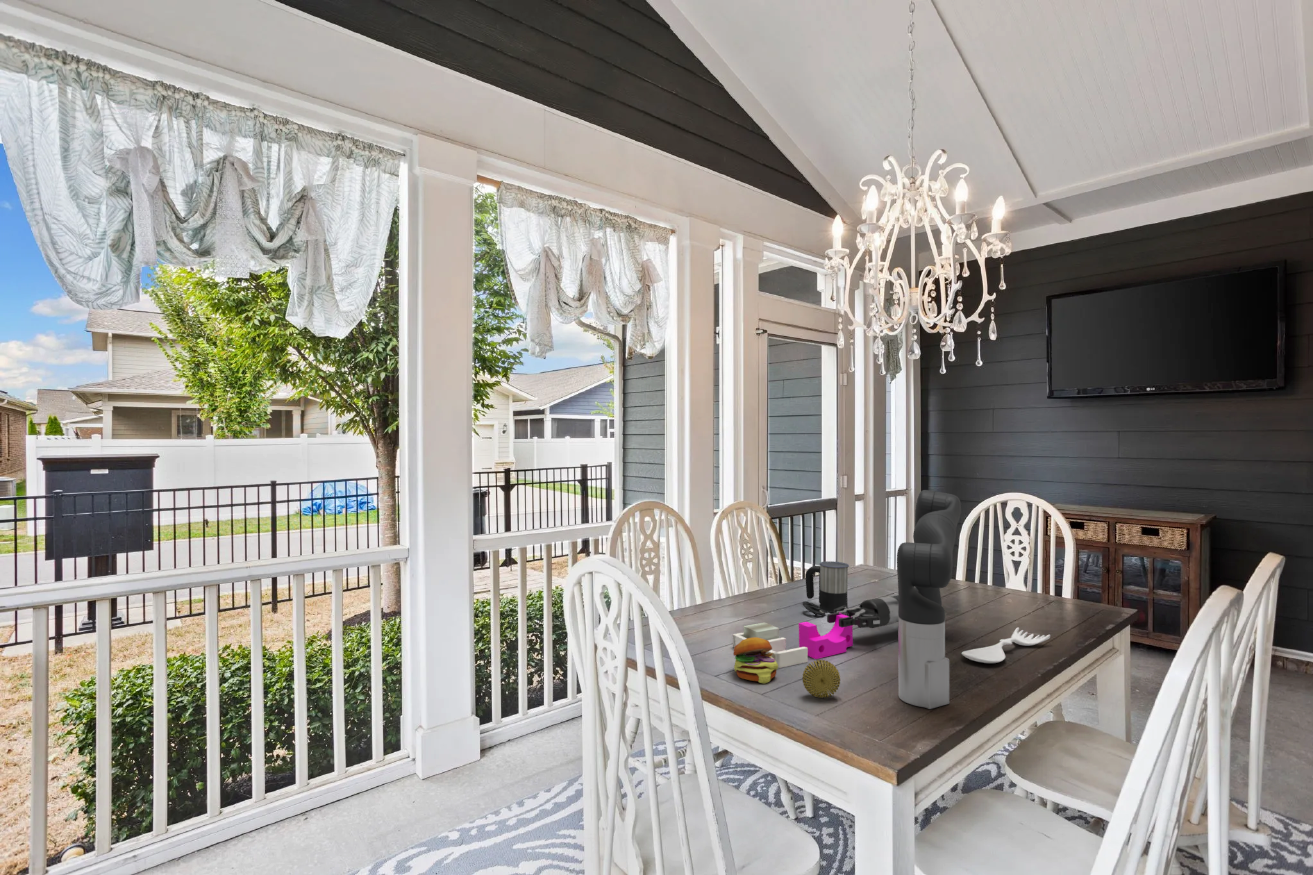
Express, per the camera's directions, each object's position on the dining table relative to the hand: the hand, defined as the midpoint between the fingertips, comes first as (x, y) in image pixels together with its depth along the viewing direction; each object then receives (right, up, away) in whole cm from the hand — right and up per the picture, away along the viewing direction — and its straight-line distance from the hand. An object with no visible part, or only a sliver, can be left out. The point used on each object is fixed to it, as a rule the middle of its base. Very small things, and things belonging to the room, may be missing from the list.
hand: (834, 621), depth 173 cm
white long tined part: (+43, -8, -4) cm, 44 cm away
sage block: (-19, -7, -1) cm, 21 cm away
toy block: (-2, -7, -2) cm, 8 cm away
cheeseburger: (-24, -8, -19) cm, 32 cm away
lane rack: (-18, -7, -5) cm, 20 cm away
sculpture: (-11, -8, -32) cm, 35 cm away
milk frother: (+7, -7, +35) cm, 37 cm away
